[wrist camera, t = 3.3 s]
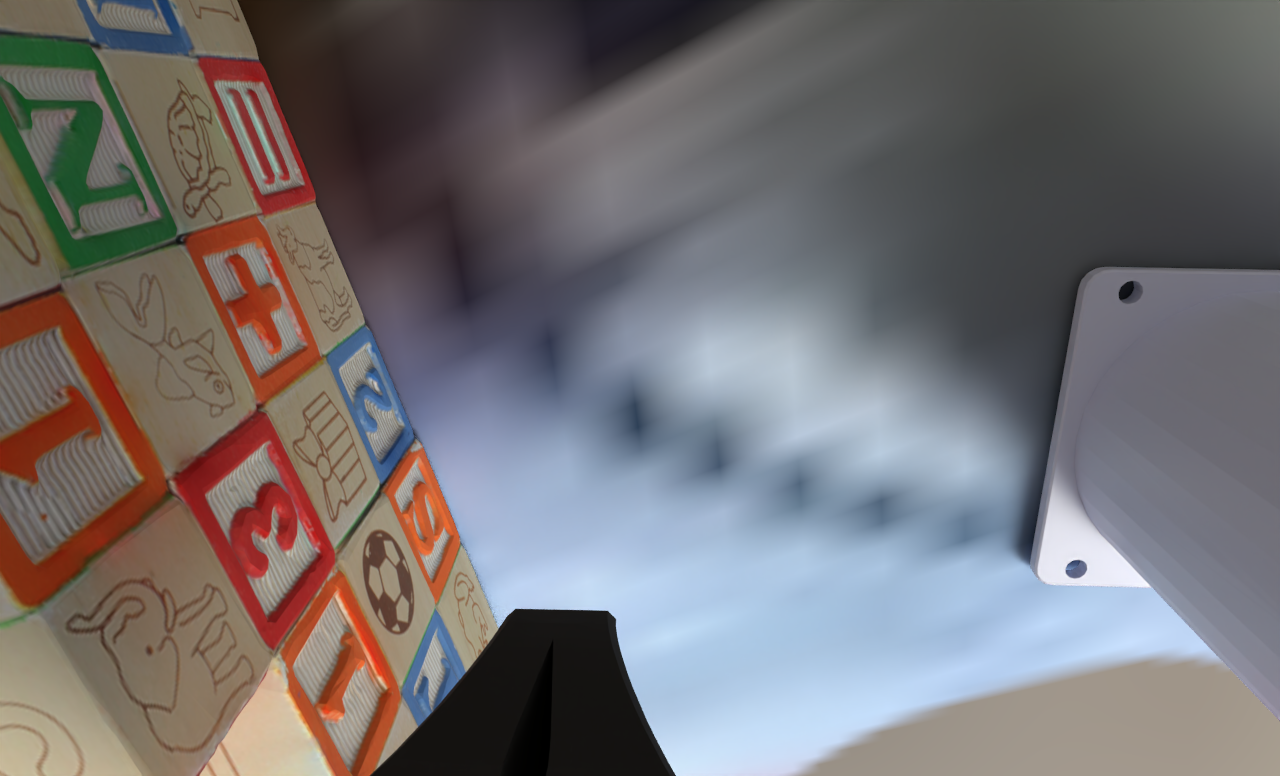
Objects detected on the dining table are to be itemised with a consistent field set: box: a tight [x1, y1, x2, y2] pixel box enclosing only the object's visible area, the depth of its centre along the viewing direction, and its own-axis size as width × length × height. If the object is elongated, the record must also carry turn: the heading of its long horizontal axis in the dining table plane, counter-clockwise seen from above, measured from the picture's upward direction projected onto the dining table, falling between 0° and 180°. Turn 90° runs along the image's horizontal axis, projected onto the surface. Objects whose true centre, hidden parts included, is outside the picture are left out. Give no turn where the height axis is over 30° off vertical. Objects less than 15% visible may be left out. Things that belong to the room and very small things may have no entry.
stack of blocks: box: [0, 0, 498, 776], centre depth 16 cm, size 21×6×12 cm, turn 17°
